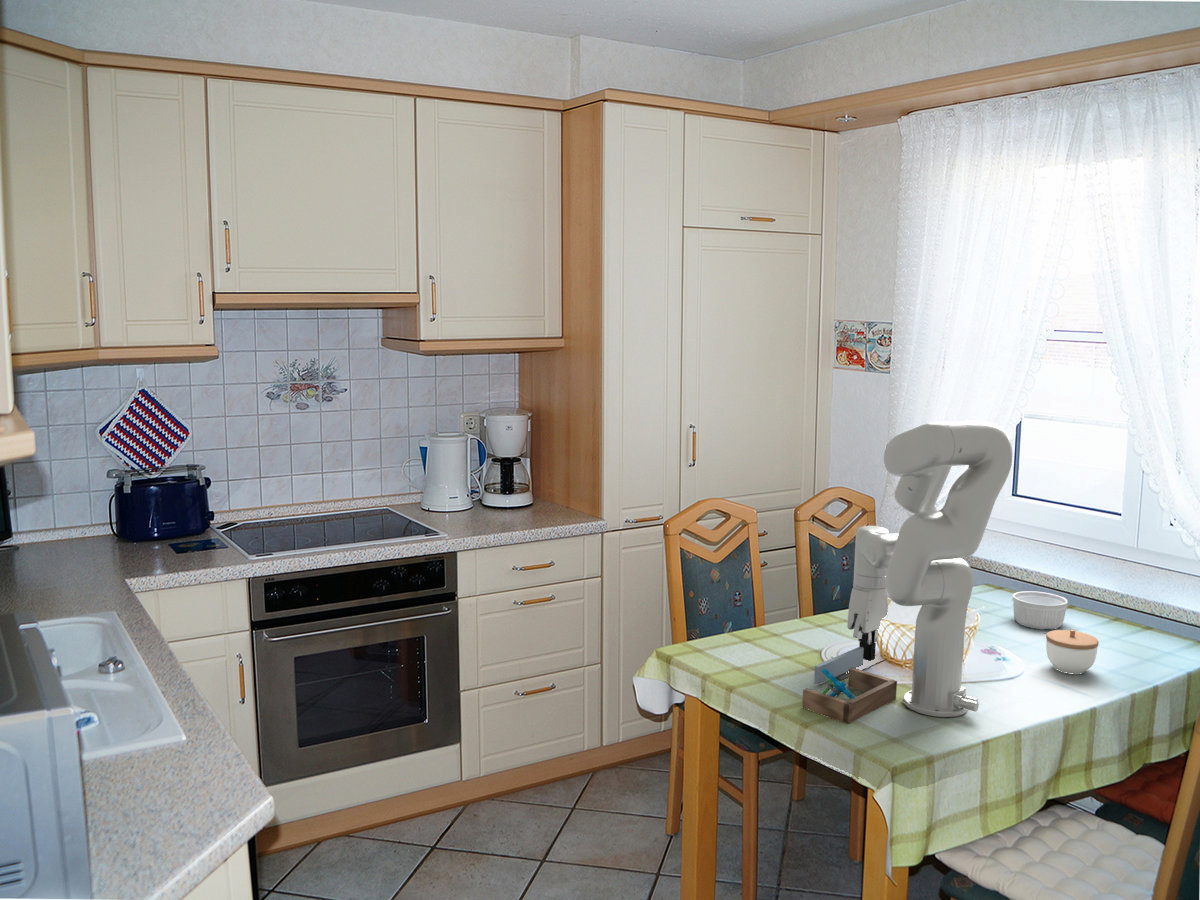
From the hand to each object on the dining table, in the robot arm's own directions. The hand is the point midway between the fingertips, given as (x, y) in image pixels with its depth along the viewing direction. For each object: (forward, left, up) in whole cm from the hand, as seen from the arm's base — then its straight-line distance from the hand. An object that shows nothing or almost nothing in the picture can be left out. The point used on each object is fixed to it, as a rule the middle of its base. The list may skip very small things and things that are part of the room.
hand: (866, 658), depth 230 cm
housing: (-7, +13, -1) cm, 15 cm away
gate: (0, +11, -1) cm, 11 cm away
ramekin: (-14, -60, -2) cm, 62 cm away
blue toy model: (-8, +24, -2) cm, 26 cm away
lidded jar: (-33, -31, -2) cm, 46 cm away
